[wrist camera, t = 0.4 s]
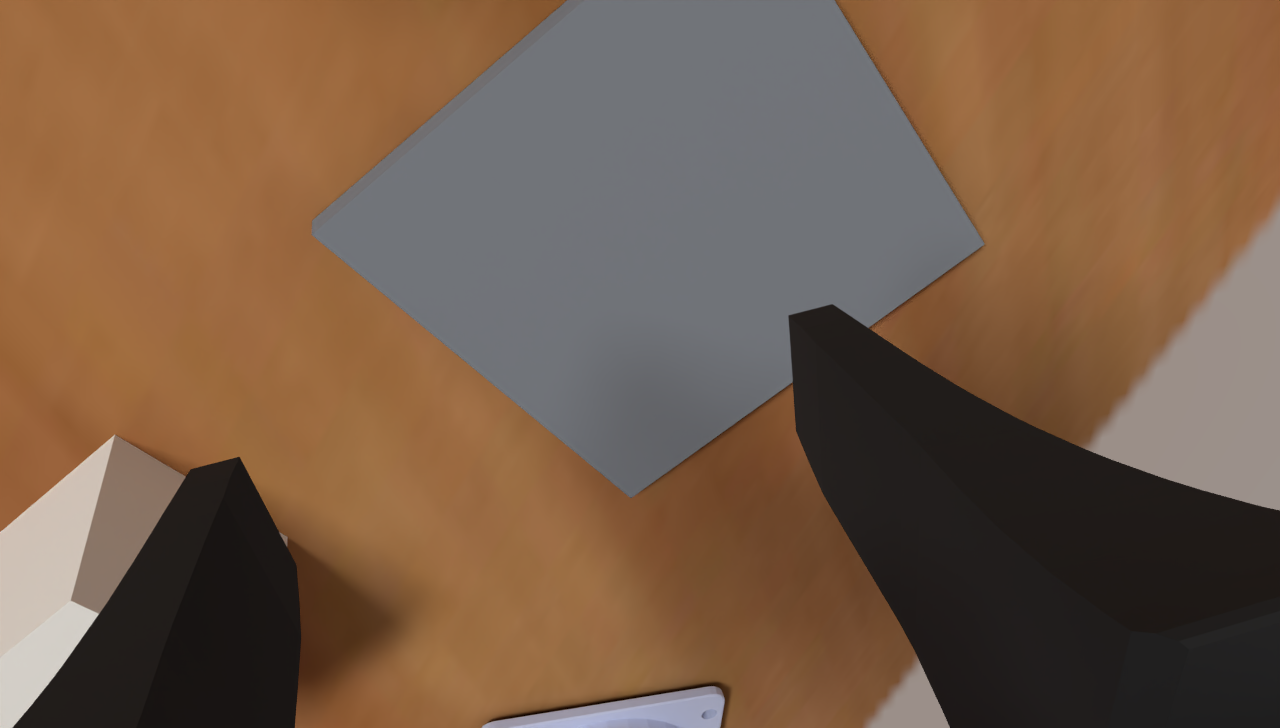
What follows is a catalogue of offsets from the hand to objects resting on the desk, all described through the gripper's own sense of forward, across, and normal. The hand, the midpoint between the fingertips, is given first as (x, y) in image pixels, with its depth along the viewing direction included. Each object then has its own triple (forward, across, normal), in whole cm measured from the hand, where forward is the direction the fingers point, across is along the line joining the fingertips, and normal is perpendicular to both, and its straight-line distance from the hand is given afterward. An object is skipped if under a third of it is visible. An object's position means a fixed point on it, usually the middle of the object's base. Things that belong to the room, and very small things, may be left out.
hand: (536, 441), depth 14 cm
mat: (+10, -4, +3) cm, 11 cm away
